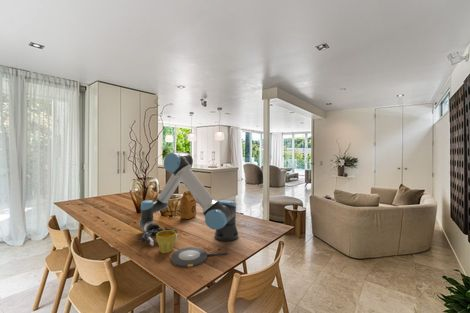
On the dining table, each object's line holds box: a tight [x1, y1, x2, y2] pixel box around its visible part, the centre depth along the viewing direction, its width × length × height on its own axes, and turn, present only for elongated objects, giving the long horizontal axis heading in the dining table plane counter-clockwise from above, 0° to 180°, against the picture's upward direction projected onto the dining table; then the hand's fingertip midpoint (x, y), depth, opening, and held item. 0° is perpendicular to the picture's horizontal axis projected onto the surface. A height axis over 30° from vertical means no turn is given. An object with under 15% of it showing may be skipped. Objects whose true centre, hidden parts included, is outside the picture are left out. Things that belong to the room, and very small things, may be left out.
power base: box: [170, 246, 229, 268], centre depth 119 cm, size 30×18×2 cm, turn 104°
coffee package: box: [179, 190, 197, 220], centre depth 184 cm, size 10×12×22 cm
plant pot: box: [155, 230, 176, 254], centre depth 125 cm, size 10×10×10 cm
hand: (165, 240), depth 125 cm, fingers open, 13 cm apart
